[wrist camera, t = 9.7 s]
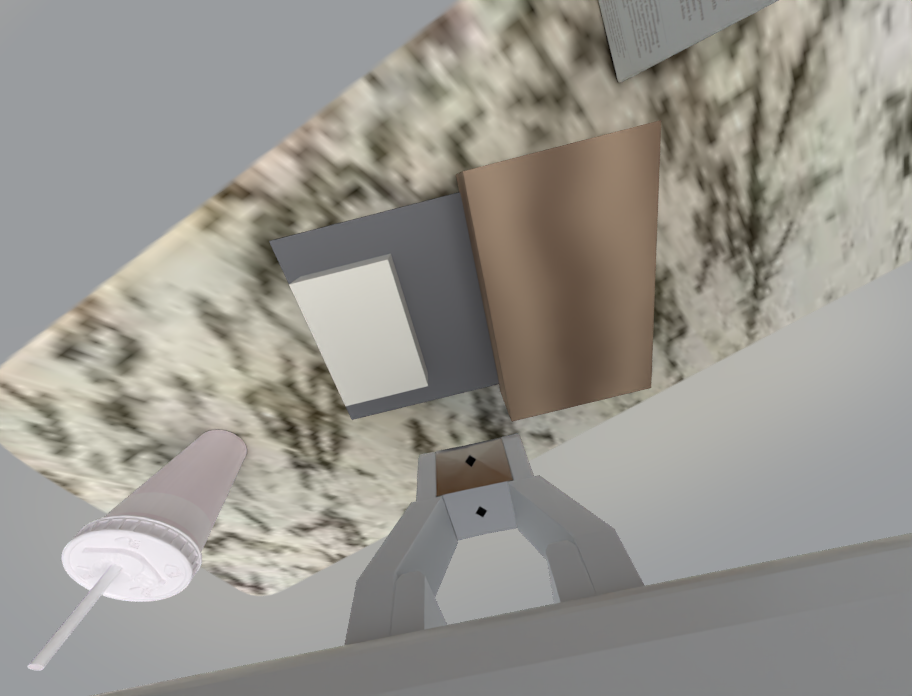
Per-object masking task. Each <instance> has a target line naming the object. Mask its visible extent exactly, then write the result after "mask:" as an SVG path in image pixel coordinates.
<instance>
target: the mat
mask: <svg viewBox="0 0 912 696" xmlns="http://www.w3.org/2000/svg"><path fill="white" fill-rule="evenodd" d="M269 242H270V244H271V246H272V249H273V251H274V253H275V255H276V257H277V259H278V261H279V264H280V266H281V268H282V270H283V272H284V274H285V277H286V279H287V281H288V283H289V284H291V283H292V282H293V281H295V280H296V279H298V278H299V277H300V276H304V275H308V274H312V273H316V272H320V271H324V270H328V269H332V268H336V267H340V266H344V265H348V264H352V263H355V262H359V261H363V260H367V259H371V258H375V257H379V256H383V255H387V254H391V256H392V259H393V262H394V265H395V269H396V272H397V275H398V278H399V281H400V285H401V288H402V291H403V294H404V297H405V301H406V304H407V307H408V310H409V314H410V317H411V320H412V323H413V326H414V330H415V333H416V336H417V339H418V342H419V346H420V349H421V352H422V355H423V358H424V362H425V365H426V368H427V371H428V386H426V387H422V388H418V389H414V390H410V391H406V392H402V393H398V394H394V395H390V396H386V397H382V398H378V399H373V400H369V401H365V402H361V403H357V404H353V405H349V406H346V408H347V410H348V412H349V415H350V417H351V419H352V420H353V419H357V418H361V417H366V416H370V415H374V414H378V413H382V412H386V411H390V410H394V409H398V408H402V407H406V406H411V405H415V404H419V403H423V402H427V401H431V400H435V399H439V398H443V397H447V396H451V395H455V394H460V393H464V392H468V391H472V390H476V389H480V388H484V387H488V386H492V385H496V384H499V380H498V375H497V370H496V365H495V360H494V356H493V351H492V346H491V341H490V336H489V331H488V326H487V321H486V316H485V311H484V306H483V302H482V297H481V292H480V287H479V282H478V277H477V272H476V267H475V262H474V257H473V252H472V247H471V243H470V238H469V233H468V228H467V223H466V218H465V213H464V208H463V203H462V198H461V193H460V192H458V193H455V194H451V195H447V196H443V197H439V198H435V199H431V200H427V201H423V202H420V203H416V204H412V205H408V206H404V207H400V208H396V209H392V210H388V211H384V212H381V213H377V214H373V215H369V216H365V217H361V218H357V219H353V220H349V221H346V222H342V223H338V224H334V225H330V226H326V227H322V228H318V229H314V230H310V231H307V232H303V233H299V234H295V235H291V236H287V237H283V238H279V239H275V240H272V241H269Z"/></svg>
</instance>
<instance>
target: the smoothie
mask: <svg viewBox="0 0 912 696" xmlns="http://www.w3.org/2000/svg"><path fill="white" fill-rule="evenodd" d="M246 454H247V447H246V445H245V443H244V441H243V440H242V439H241V438H240V437H238V436H237V435H235V434H233V433H231V432H229V431H225V430H210V431H207V432H205V433H203V434H202V435H201V436H200V437H198V438H197V439H196V440H195V441H194V442H192V443H191V444H190V445H189V446H188V447H186V448H185V449H184V450H183V451H182V452H180V453H179V454H178V455H177V456H176V457H175V458H173V459H172V460H171V461H170V462H169V463H167V464H166V465H165V466H164V467H163V468H161V469H160V470H159V471H158V472H157V473H155V474H154V475H153V476H152V477H151V478H149V479H148V480H147V481H146V482H145V483H144V484H142V485H141V486H140V487H139V488H138V489H136V490H135V491H134V492H133V493H132V494H130V495H129V496H128V497H127V498H126V499H124V500H123V501H122V502H121V503H119V504H118V505H117V506H116V507H115V508H114V509H112V510H111V511H110V512H109V513H108V514H107V515H106V516H104V517H103V518H99V519H96V520H94V521H92V522H90V523H88V524H86V525H84V527H83V528H82V529H81V530H80V531H79V532H78V533H77V535H76V536H75V537H74V538H73V539H72V540H71V541H70V542H69V543H68V544H67V545H66V546H65V548H64V549H63V552H62V563H63V566H64V569H65V570H66V572H67V573H68V575H69V576H70V577H71V578H72V579H73V580H75V581H76V582H77V583H78V584H80V585H81V586H83V587H84V588H86V589H88V590H90V591H89V593H88V594H87V595H86V596H85V597H84V599H83V600H82V601H81V602H80V604H79V605H78V606H77V607H76V608H75V610H74V611H73V612H72V613H71V614H70V616H69V617H68V618H67V619H66V620H65V622H64V623H63V624H62V626H60V628H59V629H58V630H57V631H56V633H55V634H54V635H53V636H52V637H51V639H50V640H49V641H48V642H47V643H46V645H45V646H44V647H43V648H42V649H41V651H40V652H39V653H38V654H37V655H36V657H35V658H34V659H33V660H32V661H31V663H30V664H29V665H28V668H29V669H32V670H42V669H43V668H44V667H45V666H46V665H47V663H48V662H49V661H50V659H51V658H52V657H53V656H54V654H55V653H56V652H57V651H58V649H59V648H60V647H61V646H62V644H63V643H64V642H65V641H66V639H67V638H68V637H69V635H70V634H71V633H72V632H73V630H74V629H75V628H76V626H77V625H78V624H79V623H80V622H81V620H82V619H83V618H84V616H85V615H86V614H87V613H88V611H89V610H90V609H91V608H92V606H93V605H94V604H95V603H96V601H97V600H98V599H99V598H100V596H101V595H103V596H105V597H110V598H113V599H118V600H124V601H136V602H144V601H155V600H161V599H165V598H168V597H171V596H173V595H176V594H178V593H179V592H181V591H182V590H184V589H185V588H186V587H187V586H188V585H189V583H190V581H191V580H192V578H193V576H194V575H195V574H196V573H197V572H198V570H199V568H200V566H201V564H202V554H201V551H202V549H203V547H204V545H205V543H206V541H207V539H208V537H209V535H210V532H211V530H212V528H213V525H214V523H215V521H216V519H217V517H218V515H219V513H220V510H221V508H222V506H223V504H224V502H225V500H226V497H227V495H228V493H229V491H230V489H231V487H232V485H233V482H234V480H235V478H236V476H237V474H238V472H239V469H240V467H241V465H242V463H243V461H244V459H245V457H246Z"/></svg>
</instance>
